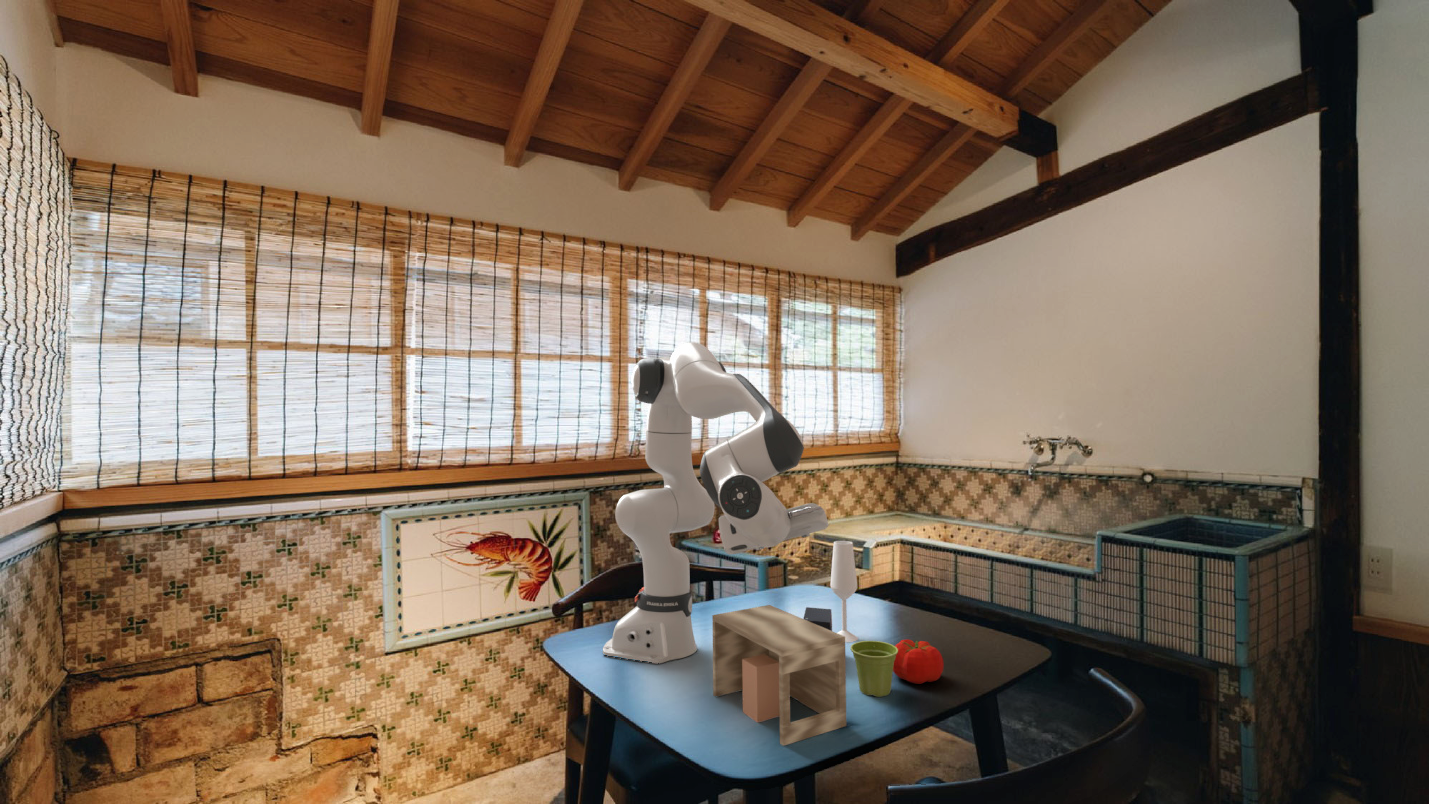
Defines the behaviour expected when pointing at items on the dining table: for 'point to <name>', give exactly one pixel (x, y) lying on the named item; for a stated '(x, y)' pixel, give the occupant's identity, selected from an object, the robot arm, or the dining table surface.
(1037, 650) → the dining table surface
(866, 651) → the plant pot
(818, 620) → the small box
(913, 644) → the tomato
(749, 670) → the terracotta block
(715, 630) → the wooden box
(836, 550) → the champagne flute
